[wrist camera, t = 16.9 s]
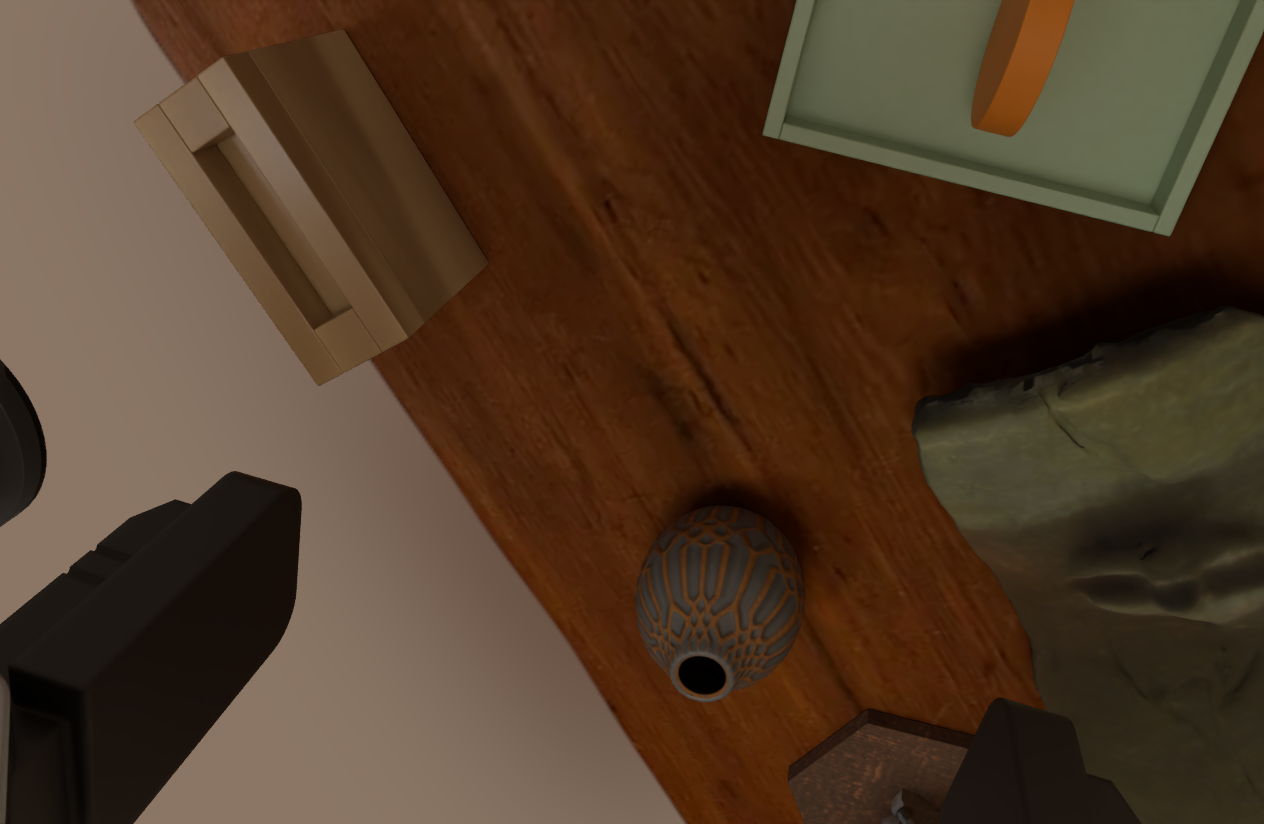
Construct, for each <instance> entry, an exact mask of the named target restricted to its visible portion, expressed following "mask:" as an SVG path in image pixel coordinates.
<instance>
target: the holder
mask: <svg viewBox="0 0 1264 824" xmlns="http://www.w3.org/2000/svg"><path fill="white" fill-rule="evenodd" d="M134 124H135V125H136V127H137V128H138V129H139V131H140V132H141V134H142V135H143V137H144V138H145V140H146V141H147V142H148V144H149V145H150V146H151V148H152V150H153V151H154V152H155V154H156V155H157V156H158V158H159V160H160V161H161V162H162V164H163V165H164V167H165V168H166V169H167V171H168V172H169V174H170V175H171V177H172V178H173V180H174V181H175V182H176V184H177V185H178V187H179V188H180V189H181V191H182V192H183V194H184V195H185V197H186V198H187V200H188V201H189V202H190V204H191V205H192V207H193V208H194V210H195V211H196V212H197V214H198V215H199V217H200V218H201V220H202V221H203V222H204V224H205V225H206V227H207V228H208V230H209V231H210V232H211V234H212V235H213V236H214V238H215V239H216V241H217V242H218V244H219V245H220V247H221V248H222V250H223V251H224V252H225V254H226V255H227V256H228V258H229V260H230V261H231V262H232V264H233V265H234V267H235V268H236V270H237V271H238V272H239V274H240V275H241V277H242V278H243V280H244V281H245V282H246V284H247V285H248V287H249V288H250V290H251V291H252V292H253V294H254V295H255V297H256V298H257V300H258V301H259V302H260V304H261V305H262V307H263V308H264V310H265V311H266V312H267V314H268V315H269V317H270V318H271V319H272V321H273V322H274V324H275V325H276V327H277V328H278V330H279V331H280V332H281V334H282V335H283V337H284V338H285V340H286V341H287V342H288V344H289V345H290V347H291V348H292V350H293V351H294V352H295V354H296V355H297V357H298V358H299V360H300V361H301V362H302V364H303V365H304V367H305V368H306V370H307V371H308V372H309V373H310V375H311V377H312V378H313V380H314V381H315V383H316V384H317V385H318V386H320V385H322V384H324V383H326V382H328V381H330V380H331V379H333V378H335V377H337V376H339V375H341V374H342V373H344V372H347V371H348V370H350V369H352V368H354V367H356V366H358V365H360V364H361V363H363V362H365V361H367V360H369V359H371V358H373V357H375V356H376V355H378V354H380V353H382V352H383V351H386V350H388V349H389V348H391V347H393V346H395V345H397V344H399V343H401V342H403V341H404V340H406V339H408V338H409V337H410V336H411V335H412V334H414V333H415V332H416V331H417V330H418V329H419V328H420V327H421V326H422V325H423V324H424V323H426V322H427V321H428V320H429V319H430V318H431V317H432V316H433V315H434V314H435V313H436V312H437V311H439V310H440V309H441V308H442V307H443V306H444V305H445V304H446V303H447V302H448V301H449V300H450V299H451V298H453V297H454V296H455V295H456V294H457V293H458V292H459V291H460V290H461V289H462V288H463V287H464V286H466V285H467V284H468V283H469V282H470V281H471V280H472V279H473V278H474V277H475V276H476V275H477V274H479V273H480V272H481V271H482V270H483V269H484V268H485V267H486V266H487V265H488V264H489V262H488V261H487V259H486V258H485V256H484V254H483V253H482V251H481V250H480V248H479V246H478V245H477V243H476V241H475V240H474V238H473V237H472V235H471V233H470V232H469V230H468V229H467V227H466V225H465V224H464V222H463V221H462V219H461V217H460V216H459V214H458V212H457V211H456V209H455V208H454V206H453V204H452V203H451V201H450V200H449V198H448V196H447V195H446V193H445V191H444V190H443V188H442V187H441V185H440V183H439V182H438V180H437V179H436V177H435V175H434V174H433V172H432V171H431V169H430V167H429V166H428V164H427V162H426V161H425V159H424V158H423V156H422V154H421V153H420V151H419V150H418V148H417V146H416V145H415V143H414V142H413V140H412V138H411V137H410V135H409V133H408V132H407V130H406V129H405V127H404V125H403V124H402V122H401V121H400V119H399V117H398V116H397V114H396V113H395V111H394V109H393V108H392V106H391V104H390V103H389V101H388V100H387V98H386V96H385V95H384V93H383V92H382V90H381V88H380V87H379V85H378V84H377V82H376V80H375V79H374V77H373V75H372V74H371V72H370V71H369V69H368V67H367V66H366V64H365V63H364V61H363V59H362V58H361V56H360V55H359V53H358V51H357V50H356V48H355V46H354V45H353V43H352V42H351V40H350V38H349V37H348V35H347V34H346V32H345V30H344V29H343V30H338V31H334V32H330V33H325V34H321V35H316V36H312V37H308V38H303V39H299V40H294V41H290V42H286V43H281V44H277V45H273V46H268V47H264V48H259V49H255V50H251V51H247V52H242V53H238V54H233V55H229V56H225V57H222V58H220V59H219V60H217V61H216V62H215V63H213V64H212V65H211V66H209V67H208V68H206V69H205V70H204V71H202V72H201V73H200V74H198V76H196V77H194V78H193V79H192V80H190V81H189V82H187V83H186V84H185V85H183V86H182V87H181V88H179V89H178V90H176V91H175V92H174V93H172V94H171V95H170V96H168V97H167V98H166V99H164V100H163V101H161V102H160V103H159V104H157V105H156V106H154V107H153V108H152V109H150V110H149V111H148V112H146V113H145V114H143V115H142V116H141V117H139V118H138V119H137V120H135V121H134Z"/></svg>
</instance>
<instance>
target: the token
mask: <svg viewBox="0 0 1264 824" xmlns="http://www.w3.org/2000/svg"><path fill="white" fill-rule="evenodd" d="M1074 1H1075V0H1002V3H1001V5H1000V8H999V11H998V14H997V17H996V19H995V22H994V25H993V28H992V31H991V34H990V38H989V41H988V44H987V47H986V50H985V54H984V57H983V61H982V64H981V68H980V72H979V76H978V80H977V84H976V88H975V93H974V98H973V103H972V110H971V125H972V127H973V128H974V129H978V130H982V131H986V132H990V133H994V134H998V135H1002V136H1006V137H1012V136H1014V135H1015V134H1016V133H1017V132H1018V131H1019V130H1020V128H1021V127H1022V126H1023V124H1024V123H1025V121H1026V120H1027V118H1028V116H1029V115H1030V113H1031V111H1032V109H1033V107H1034V105H1035V103H1036V101H1037V99H1038V97H1039V95H1040V93H1041V91H1042V89H1043V87H1044V84H1045V82H1046V80H1047V78H1048V75H1049V73H1050V70H1051V68H1052V65H1053V63H1054V60H1055V58H1056V55H1057V53H1058V50H1059V47H1060V44H1061V42H1062V39H1063V36H1064V33H1065V30H1066V27H1067V24H1068V21H1069V18H1070V14H1071V11H1072V8H1073V4H1074Z"/></svg>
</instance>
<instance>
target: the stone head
mask: <svg viewBox="0 0 1264 824" xmlns="http://www.w3.org/2000/svg"><path fill="white" fill-rule="evenodd" d="M912 435H913V437H914V438H915V440H916V441H917V446H918V456H919V460H920V463H921V468H922V471H923V473H924V475H925V479H926V482H927V484H928V485H929V486H930V488H931V490H932V492H933V493H934V494H935V495H936V497H937V499H938V501H939V502H940V504H941V505H942V506H943V507H944V508H945V509H946V511H947V512H948V513H949V514H950V515H951V517H952V518H953V520H954V522H955V526H956V528H957V529H958V531H959V532H960V533H961V534H962V535H963V536H964V538H965V539H966V541H967V542H968V544H969V546H970V547H971V548H972V550H973V551H974V552H975V553H976V554H977V555H978V557H979V558H980V559H981V560H983V561H984V562H985V563H986V564H987V565H988V566H989V567H990V568H991V569H992V571H993V573H994V574H995V576H996V577H997V579H998V581H999V583H1000V585H1001V588H1002V590H1003V591H1004V592H1005V593H1006V595H1007V596H1008V598H1009V599H1010V601H1011V603H1012V604H1013V606H1014V608H1015V610H1016V612H1017V614H1018V617H1019V619H1020V621H1021V624H1022V626H1023V628H1024V630H1025V631H1026V633H1027V634H1028V635H1029V639H1030V645H1031V648H1032V651H1033V654H1032V663H1033V667H1034V669H1033V678H1034V682H1035V685H1036V688H1037V690H1038V692H1039V693H1040V695H1041V698H1042V701H1043V703H1044V705H1045V707H1046V709H1047V710H1048V712H1051V713H1055V714H1058V715H1062V716H1065V717H1068V718H1069V719H1070V720H1072V722H1073V724H1074V727H1075V730H1076V734H1077V738H1078V742H1079V746H1080V750H1081V754H1082V758H1083V762H1084V766H1085V770H1086V773H1087V774H1091V775H1094V776H1098V777H1101V778H1104V779H1108V780H1111V781H1112V782H1113V783H1114V785H1115V786H1116V788H1117V789H1118V790H1119V792H1120V793H1121V795H1122V796H1123V798H1124V799H1125V800H1126V802H1127V803H1128V805H1129V806H1130V807H1131V809H1132V810H1133V812H1134V813H1135V815H1136V816H1137V817H1138V819H1139V820H1140V822H1141V823H1142V824H1264V316H1262V315H1260V314H1258V313H1254V312H1250V311H1244V310H1241V309H1239V308H1235V307H1231V306H1227V305H1225V306H1220V307H1219V308H1217V309H1215V310H1214V311H1204V312H1200V313H1196V314H1193V315H1190V316H1187V317H1184V318H1179V319H1175V320H1173V321H1170V322H1168V323H1165V324H1162V325H1159V326H1155V327H1152V328H1149V329H1146V330H1144V331H1141V332H1139V333H1137V334H1135V335H1133V336H1132V337H1130V338H1128V339H1126V340H1123V341H1121V342H1116V343H1107V342H1106V343H1105V342H1100V343H1098V344H1096V345H1095V346H1094V347H1093V348H1092V349H1091V350H1090V351H1089V352H1088V353H1086V354H1085V355H1083V356H1082V357H1080V358H1076V359H1073V360H1072V361H1069V362H1067V363H1064V364H1062V365H1059V366H1057V367H1054V368H1049V369H1046V370H1044V371H1041V372H1036V373H1032V374H1028V375H1025V376H1019V377H1013V378H1007V379H999V380H995V381H992V382H989V383H983V384H976V383H967V384H965V385H964V386H962V387H960V388H959V389H958V390H956V391H954V392H952V393H950V394H947V395H941V396H925V397H924V398H922V399H920V400H919V401H918V402H917V404H916V408H915V416H914V420H913V423H912Z"/></svg>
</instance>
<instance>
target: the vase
mask: <svg viewBox="0 0 1264 824" xmlns="http://www.w3.org/2000/svg"><path fill="white" fill-rule="evenodd" d="M804 602H805V589H804V578H803V573H802V570H801V566H800V563H799V560H798V558H797V556H796V553H795V551H794V549H793V548H792V546H791V544H790V543H789V541H788V540H787V538H786V537H785V536H784V535H783V533H782V532H781V531H780V530H779V529H778V528H777V527H776V526H775V525H774V524H773V523H771V522H770V521H769V520H767V519H766V518H764V517H763V516H761V515H759V514H757V513H755V512H753V511H750V510H747V509H744V508H740V507H735V506H727V505H715V506H707V507H703V508H699V509H696V510H694V511H691V512H689V513H687V514H685V515H683V516H681V517H680V518H678V519H677V520H675V521H674V522H673V523H671V524H670V525H669V526H668V527H667V528H666V529H665V530H664V531H663V532H662V533H661V534H660V535H659V536H658V537H657V539H656V540H655V541H654V543H653V544H652V546H651V547H650V549H649V551H648V553H647V555H646V557H645V559H644V561H643V564H642V566H641V569H640V572H639V576H638V579H637V584H636V592H635V610H636V618H637V623H638V628H639V632H640V635H641V638H642V640H643V642H644V645H645V647H646V649H647V650H648V652H649V654H650V655H651V657H652V658H653V659H654V661H655V662H656V663H657V664H658V665H659V666H660V667H661V668H662V669H663V670H664V671H665V672H666V673H667V674H668V675H669V676H670V678H671V680H672V683H673V684H674V686H675V687H676V689H677V690H678V691H679V692H680V693H682V694H683V695H684V696H686V697H688V698H690V699H692V700H695V701H700V702H713V701H717V700H720V699H722V698H724V697H725V696H726V695H728V694H729V693H730V692H731V691H735V690H739V689H742V688H745V687H748V686H751V685H753V684H755V683H757V682H758V681H760V680H762V679H763V678H765V677H766V676H767V675H769V674H770V673H771V672H772V671H773V670H774V669H775V668H776V667H777V666H778V665H779V664H780V663H781V662H782V660H783V659H784V658H785V656H786V655H787V654H788V652H789V650H790V649H791V647H792V645H793V643H794V641H795V640H796V637H797V635H798V632H799V629H800V626H801V623H802V619H803V613H804Z"/></svg>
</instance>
